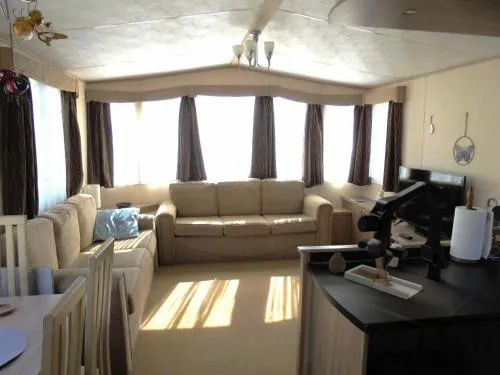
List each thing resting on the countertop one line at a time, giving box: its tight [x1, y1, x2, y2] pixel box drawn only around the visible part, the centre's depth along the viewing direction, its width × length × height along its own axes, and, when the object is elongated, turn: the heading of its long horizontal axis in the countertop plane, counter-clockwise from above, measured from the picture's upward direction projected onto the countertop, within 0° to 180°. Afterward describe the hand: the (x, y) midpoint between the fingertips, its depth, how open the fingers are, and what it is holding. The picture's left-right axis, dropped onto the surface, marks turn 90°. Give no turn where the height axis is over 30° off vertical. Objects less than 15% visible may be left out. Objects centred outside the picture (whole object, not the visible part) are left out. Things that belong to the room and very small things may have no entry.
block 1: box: [359, 265, 373, 278], centre depth 152 cm, size 4×4×4 cm
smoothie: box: [388, 236, 403, 268], centre depth 170 cm, size 6×6×14 cm
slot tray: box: [344, 264, 423, 300], centre depth 147 cm, size 14×26×4 cm, turn 43°
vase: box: [328, 252, 346, 275], centre depth 160 cm, size 7×7×9 cm
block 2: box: [367, 268, 379, 282], centre depth 149 cm, size 4×4×4 cm
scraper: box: [375, 256, 393, 285], centre depth 147 cm, size 7×4×10 cm, turn 134°
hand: (380, 268), depth 147 cm, fingers closed on scraper, 3 cm apart
